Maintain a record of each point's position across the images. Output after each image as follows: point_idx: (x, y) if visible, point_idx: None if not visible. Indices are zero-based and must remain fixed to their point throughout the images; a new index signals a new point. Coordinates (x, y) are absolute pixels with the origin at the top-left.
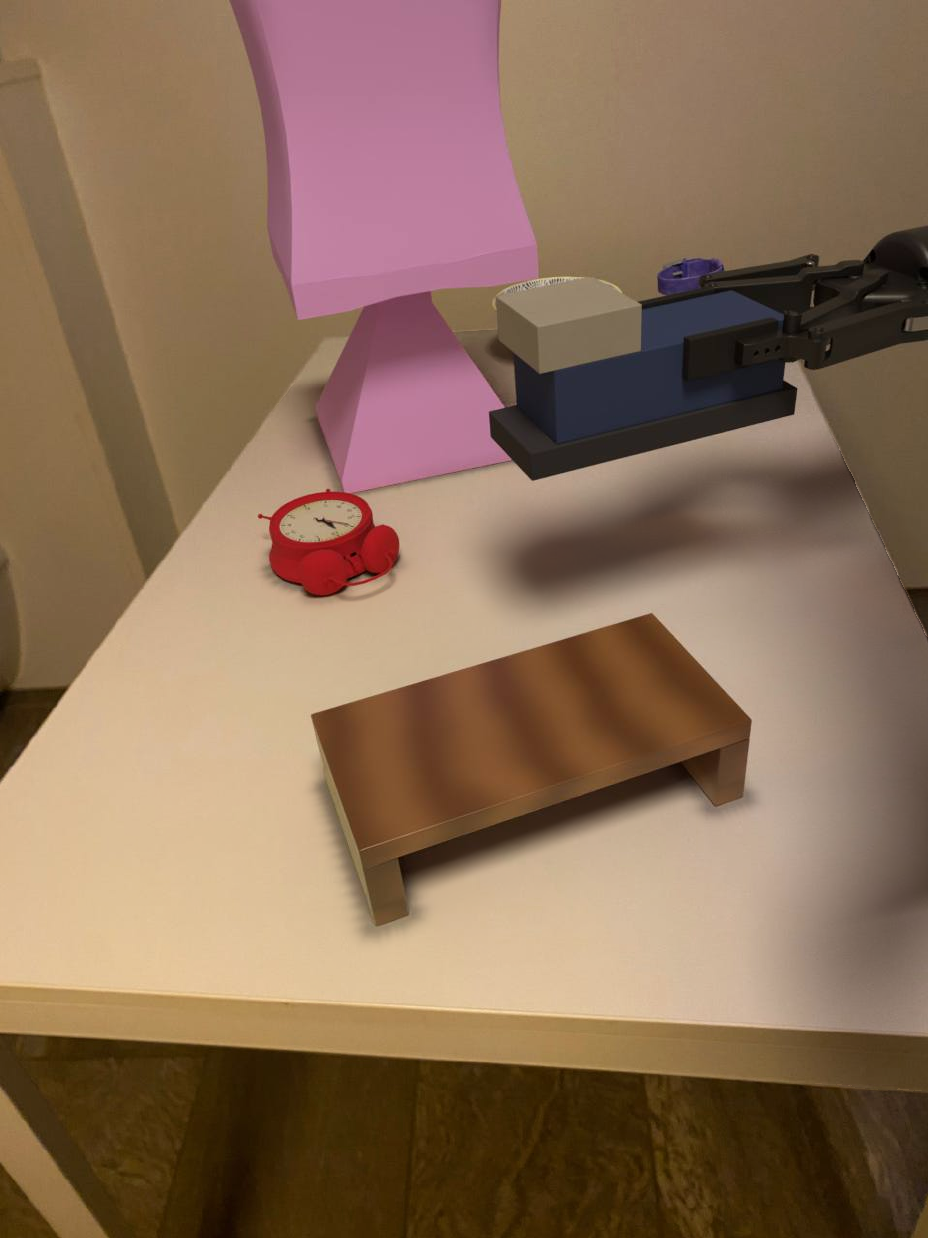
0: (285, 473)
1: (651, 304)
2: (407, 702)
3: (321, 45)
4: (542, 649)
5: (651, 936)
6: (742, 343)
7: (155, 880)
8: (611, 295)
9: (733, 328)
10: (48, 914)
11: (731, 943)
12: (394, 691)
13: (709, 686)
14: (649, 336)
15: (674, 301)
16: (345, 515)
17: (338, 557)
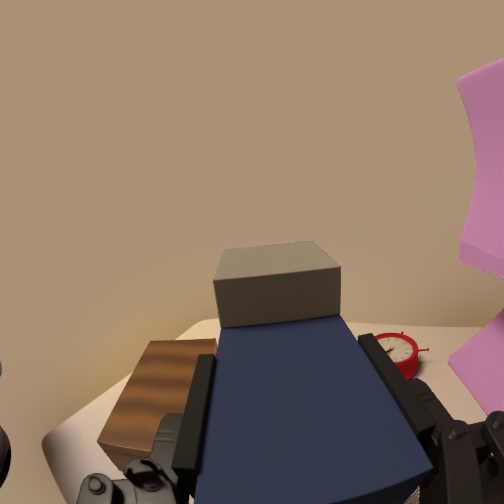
0: (462, 340)
1: (368, 354)
2: None
3: (481, 117)
4: None
5: (102, 415)
6: (173, 414)
7: (211, 336)
8: (261, 270)
9: (194, 402)
10: (214, 322)
11: (84, 428)
12: None
13: (123, 442)
14: (258, 341)
15: (384, 381)
16: (397, 356)
17: None
